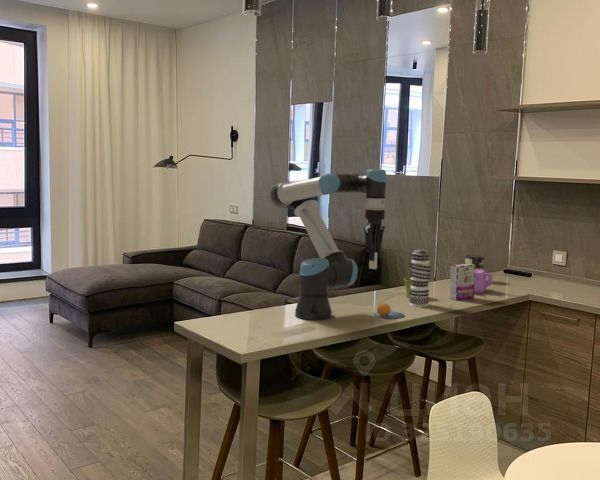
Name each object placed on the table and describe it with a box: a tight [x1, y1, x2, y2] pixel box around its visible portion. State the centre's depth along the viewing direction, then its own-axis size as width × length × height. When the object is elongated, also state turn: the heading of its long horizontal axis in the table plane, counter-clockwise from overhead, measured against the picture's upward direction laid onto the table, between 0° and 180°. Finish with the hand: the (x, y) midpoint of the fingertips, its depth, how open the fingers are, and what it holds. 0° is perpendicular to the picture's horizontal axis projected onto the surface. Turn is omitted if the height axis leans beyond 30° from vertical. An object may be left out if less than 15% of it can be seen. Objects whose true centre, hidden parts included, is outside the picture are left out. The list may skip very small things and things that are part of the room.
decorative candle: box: [408, 248, 432, 308], centre depth 275 cm, size 9×9×25 cm
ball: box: [376, 302, 391, 316], centre depth 253 cm, size 6×6×6 cm
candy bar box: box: [449, 263, 475, 301], centre depth 291 cm, size 11×5×16 cm, turn 117°
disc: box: [372, 310, 406, 320], centre depth 255 cm, size 13×13×1 cm
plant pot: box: [403, 277, 411, 299], centre depth 294 cm, size 9×9×9 cm
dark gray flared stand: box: [464, 254, 485, 271], centre depth 341 cm, size 10×10×14 cm
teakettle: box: [448, 269, 494, 295], centre depth 312 cm, size 17×17×12 cm
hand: (372, 268), depth 242 cm, fingers closed
